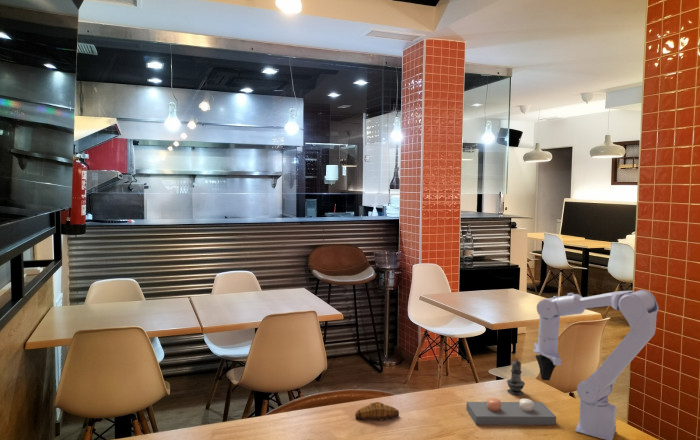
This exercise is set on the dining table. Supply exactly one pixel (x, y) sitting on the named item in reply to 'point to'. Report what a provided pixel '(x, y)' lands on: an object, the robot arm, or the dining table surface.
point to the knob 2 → (526, 405)
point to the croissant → (376, 412)
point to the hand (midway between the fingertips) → (545, 379)
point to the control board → (510, 414)
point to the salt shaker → (515, 379)
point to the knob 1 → (494, 405)
